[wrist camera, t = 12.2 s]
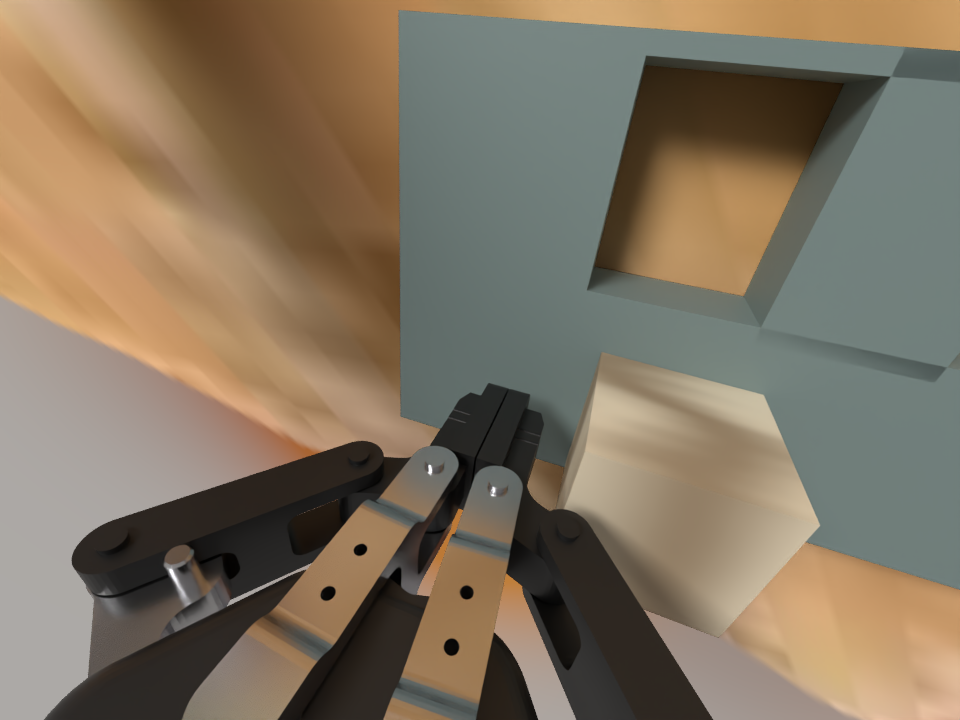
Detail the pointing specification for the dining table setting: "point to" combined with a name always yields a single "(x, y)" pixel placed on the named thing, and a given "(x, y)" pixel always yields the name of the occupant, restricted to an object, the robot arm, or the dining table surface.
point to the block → (685, 490)
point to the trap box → (682, 308)
